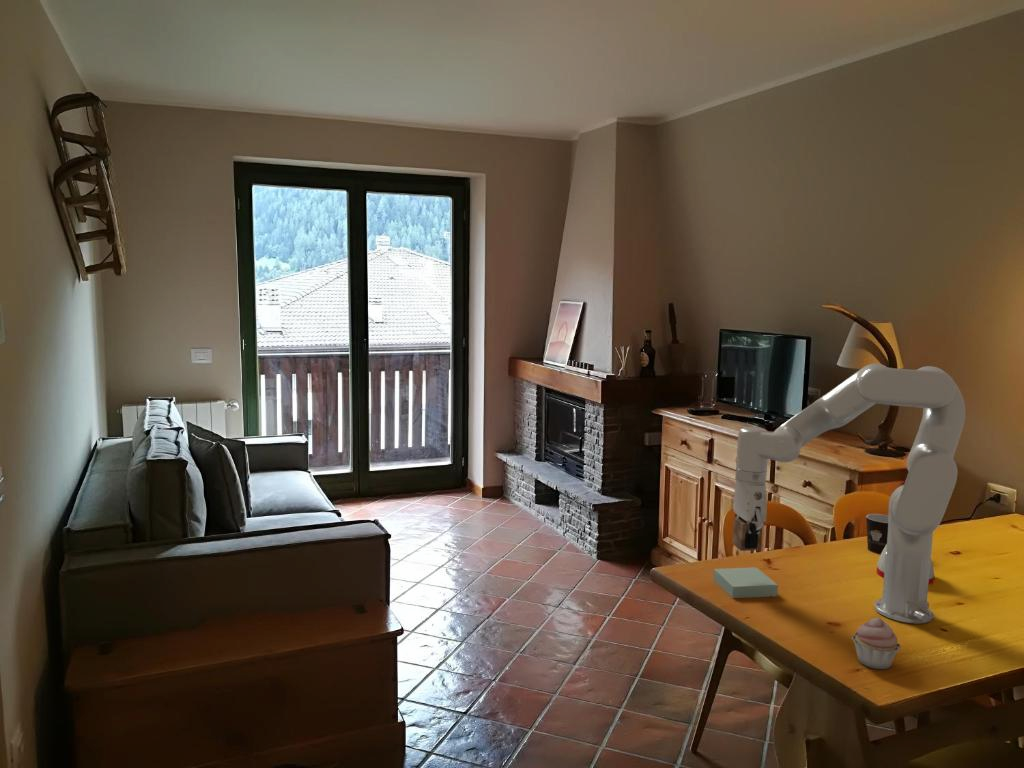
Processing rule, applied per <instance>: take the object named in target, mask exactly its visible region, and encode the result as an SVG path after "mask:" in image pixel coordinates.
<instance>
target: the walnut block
mask: <svg viewBox="0 0 1024 768" xmlns="http://www.w3.org/2000/svg"><path fill="white" fill-rule="evenodd" d="M752 521H755V519H752ZM753 525H755V524H751V527H752V526H753ZM732 528H733V530H732V545H733V546H735V547H736V548H737V549H738V550H739V551H740V552H742V551H743V552H744V551H760V548H761V547H760V546H761V545H760V543H761V530H762V528H761V529H760V531H759V534H758V546H757V548H751V549H746V548H745V535H746V533H747V521H745V520H744V519H743V518H736V517H734V518H733V527H732Z"/></svg>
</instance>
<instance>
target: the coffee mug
mask: <svg viewBox="0 0 1024 768" xmlns="http://www.w3.org/2000/svg"><path fill="white" fill-rule="evenodd" d="M888 516H889V514H888V515H887V514H880V513H869V514H866V515H865V520H866V522H865V524H866V541H867V550H868V551H869V552H870V553H874V554H878V555H881V553H882V551H883V549H884V548H885V545H886V544H887V537H888Z"/></svg>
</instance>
